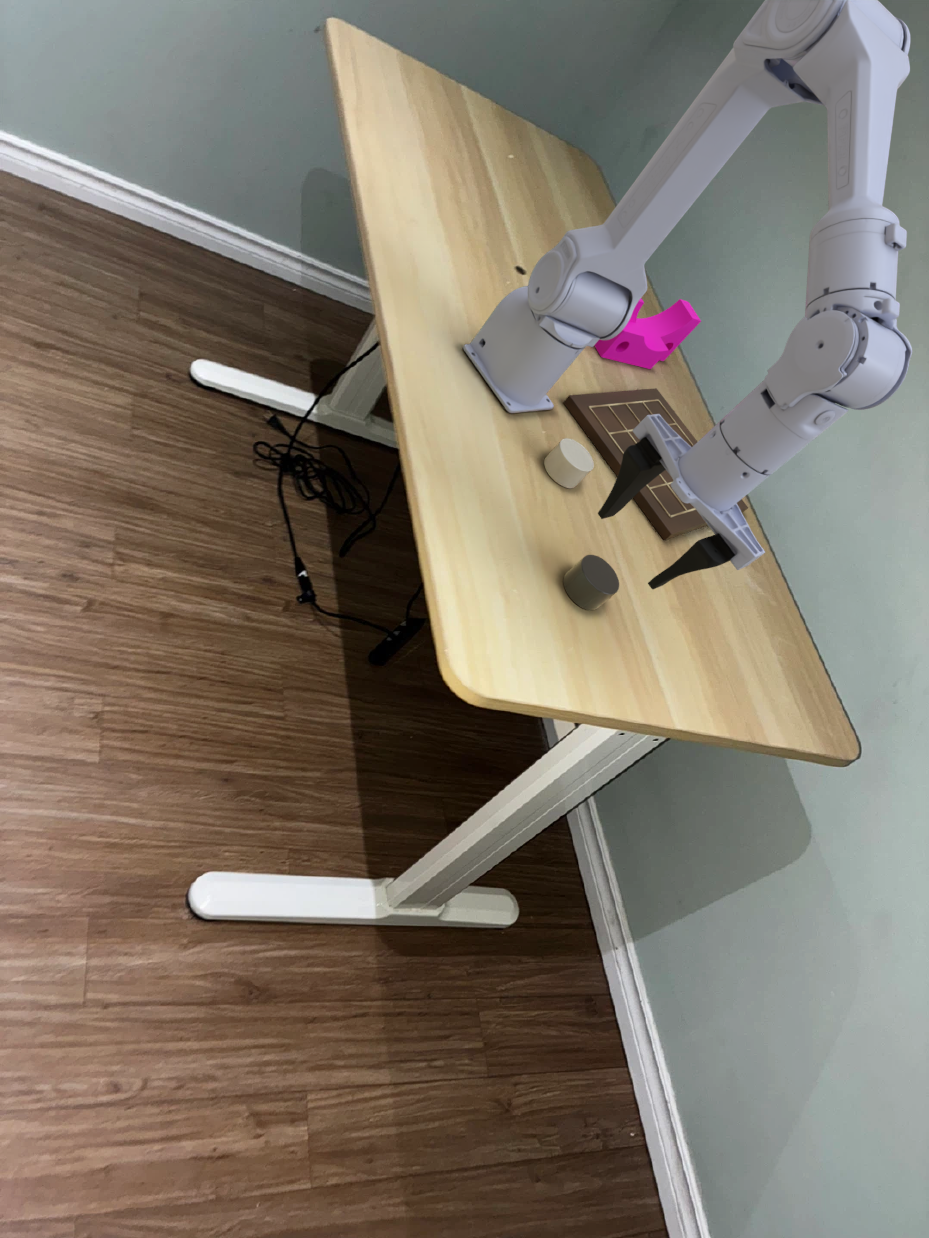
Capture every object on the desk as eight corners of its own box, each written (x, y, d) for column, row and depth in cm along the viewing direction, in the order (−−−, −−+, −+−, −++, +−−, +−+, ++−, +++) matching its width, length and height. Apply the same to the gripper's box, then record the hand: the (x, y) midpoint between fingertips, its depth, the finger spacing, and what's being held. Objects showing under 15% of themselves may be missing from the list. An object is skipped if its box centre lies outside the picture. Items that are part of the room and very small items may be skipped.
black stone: (555, 576, 75) (573, 559, 73) (581, 567, 78) (600, 550, 76) (581, 615, 74) (601, 599, 72) (607, 604, 77) (627, 588, 75)
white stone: (536, 457, 84) (552, 439, 83) (561, 453, 88) (577, 436, 86) (560, 491, 83) (577, 473, 82) (584, 485, 87) (601, 468, 85)
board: (562, 402, 94) (569, 394, 93) (650, 394, 108) (657, 387, 107) (664, 540, 89) (672, 533, 89) (741, 513, 104) (749, 507, 103)
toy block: (601, 357, 106) (639, 312, 101) (581, 322, 108) (618, 277, 103) (671, 374, 115) (709, 334, 110) (651, 342, 118) (688, 302, 113)
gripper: (666, 377, 61) (557, 490, 70) (785, 529, 58) (655, 627, 67) (708, 374, 66) (602, 480, 75) (820, 514, 63) (695, 607, 72)
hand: (630, 548), depth 72 cm, fingers open, 7 cm apart
